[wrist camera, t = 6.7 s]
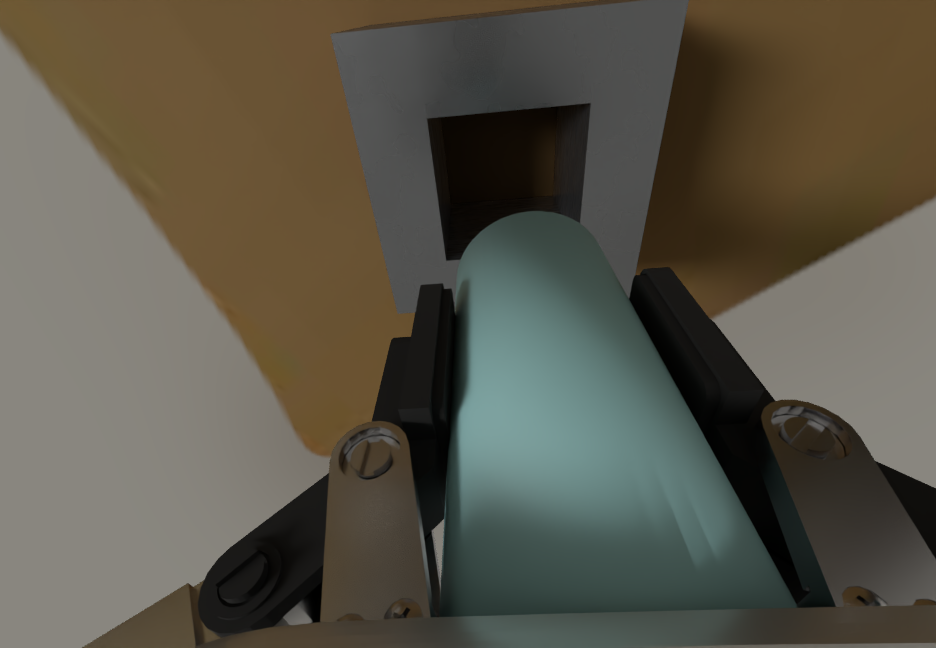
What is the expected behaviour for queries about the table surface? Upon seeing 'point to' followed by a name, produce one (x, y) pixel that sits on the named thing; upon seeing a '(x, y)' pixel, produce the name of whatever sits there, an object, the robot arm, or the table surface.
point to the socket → (505, 89)
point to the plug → (578, 448)
